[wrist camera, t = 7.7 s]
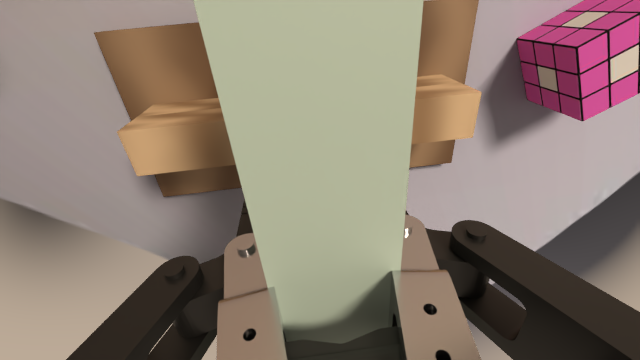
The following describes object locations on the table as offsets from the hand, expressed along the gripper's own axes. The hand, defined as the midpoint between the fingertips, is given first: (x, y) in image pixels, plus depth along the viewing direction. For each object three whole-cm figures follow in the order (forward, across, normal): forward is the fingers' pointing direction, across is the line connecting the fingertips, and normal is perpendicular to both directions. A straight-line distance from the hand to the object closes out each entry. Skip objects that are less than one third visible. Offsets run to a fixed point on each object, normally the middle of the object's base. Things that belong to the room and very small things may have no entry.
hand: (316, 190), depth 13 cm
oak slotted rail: (+13, 0, 0) cm, 13 cm away
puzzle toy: (+14, -21, -2) cm, 25 cm away
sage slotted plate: (+6, 0, 0) cm, 6 cm away
